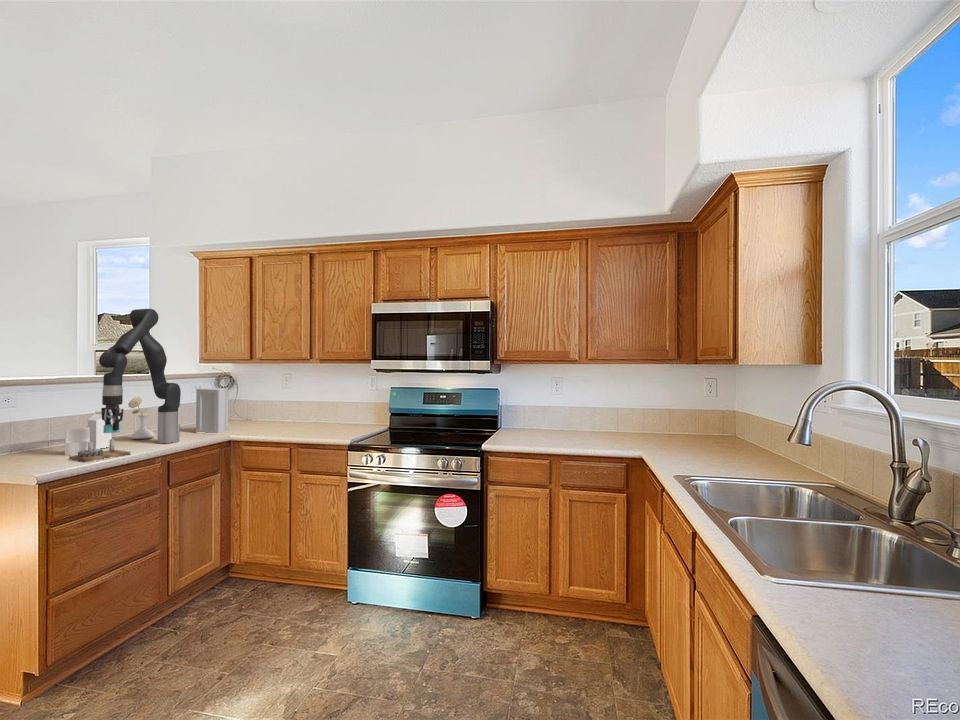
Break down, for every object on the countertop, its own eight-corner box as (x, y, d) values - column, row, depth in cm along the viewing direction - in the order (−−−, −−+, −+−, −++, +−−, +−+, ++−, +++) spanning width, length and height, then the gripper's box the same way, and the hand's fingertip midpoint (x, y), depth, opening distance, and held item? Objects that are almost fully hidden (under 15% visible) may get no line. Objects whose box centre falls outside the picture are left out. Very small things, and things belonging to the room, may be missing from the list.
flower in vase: (149, 436, 270) (149, 395, 271) (158, 438, 265) (159, 395, 265) (123, 439, 259) (124, 396, 259) (133, 441, 253) (133, 397, 254)
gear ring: (115, 430, 218) (115, 423, 218) (122, 431, 216) (122, 424, 216) (100, 432, 213) (100, 425, 213) (108, 433, 210) (108, 425, 210)
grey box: (238, 431, 293) (238, 388, 293) (218, 434, 279) (219, 389, 279) (215, 430, 299) (216, 387, 299) (195, 433, 284) (195, 389, 285)
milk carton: (95, 450, 227) (96, 412, 227) (86, 449, 230) (87, 412, 230) (111, 447, 234) (112, 411, 234) (102, 446, 236) (103, 410, 237)
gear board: (114, 452, 221) (114, 436, 221) (130, 454, 216) (130, 438, 216) (69, 459, 205) (69, 442, 205) (85, 462, 199) (85, 444, 199)
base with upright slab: (87, 451, 225) (87, 427, 225) (91, 453, 219) (91, 428, 219) (63, 453, 218) (63, 429, 218) (66, 456, 212) (66, 430, 212)
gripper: (130, 394, 215) (129, 429, 215) (113, 393, 221) (112, 428, 221) (112, 395, 208) (111, 431, 208) (94, 394, 214) (93, 429, 214)
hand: (111, 429), depth 214 cm, fingers closed on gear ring, 6 cm apart
